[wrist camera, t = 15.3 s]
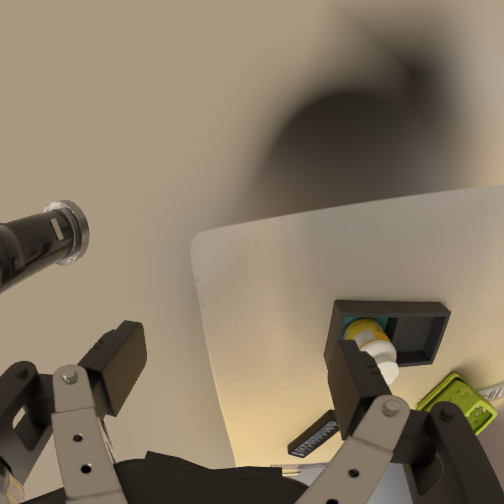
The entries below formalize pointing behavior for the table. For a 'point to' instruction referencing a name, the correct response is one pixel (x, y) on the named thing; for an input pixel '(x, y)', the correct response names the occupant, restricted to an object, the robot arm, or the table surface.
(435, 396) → the flower pot
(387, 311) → the dark grey divided tray
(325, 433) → the multiport hub
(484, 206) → the table surface
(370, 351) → the pill bottle
